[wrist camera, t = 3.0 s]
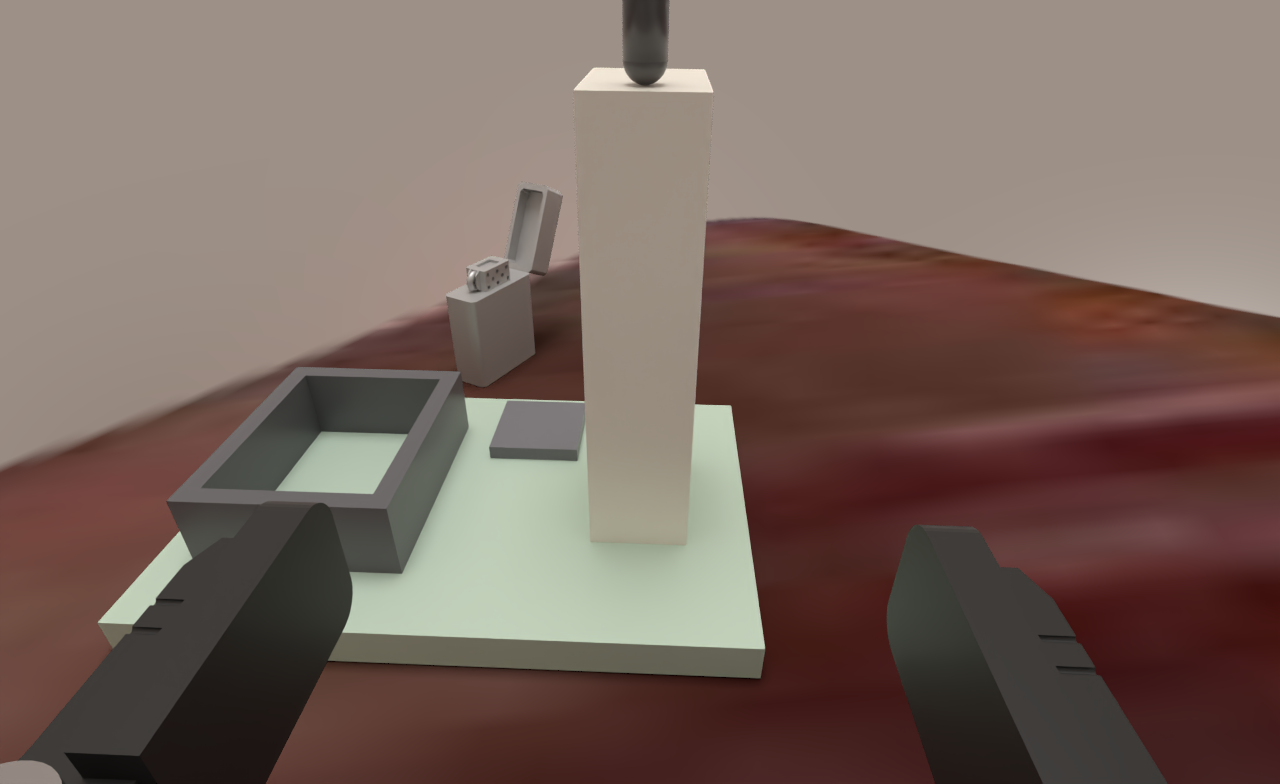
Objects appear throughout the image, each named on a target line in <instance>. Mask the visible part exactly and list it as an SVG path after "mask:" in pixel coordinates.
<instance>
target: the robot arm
mask: <svg viewBox="0 0 1280 784" xmlns="http://www.w3.org/2000/svg"><path fill="white" fill-rule="evenodd" d="M352 597H353V586H352V580H351V576H350V572H349V569H348V566H347V562H346V559H345V555H344V552H343V549H342V545H341V542H340V538H339V535H338V532H337V528H336V525H335V521H334V518H333V515H332V512H331V510H330V508H329V507H328V506H327V505H326V504H324V503H317V502H288V501H267V502H264V503H262V504H261V505H260V506H259V507H258V508H257V509H256V510H255V511H254V512H253V514H252V515H251V516H250V517H249V519H248V520H247V521H246V522H245V524H244V525H243V526H242V527H241V529H240V530H239V531H238V533H237V534H236V535H235V536H234V538H221V539H219V540H218V541H217V542H215V543H214V544H212V545H211V546H210V547H208V548H207V549H205V550H204V551H203V552H201V553H200V554H198V555H197V556H196V557H194V558H193V559H191V560H190V561H189V562H187V563H186V564H184V565H183V566H182V567H181V569H180V570H179V571H178V572H177V573H176V575H175V576H174V577H173V578H172V579H171V581H170V582H169V583H168V584H167V585H166V587H165V588H164V589H163V590H162V591H161V592H160V594H159V595H158V596H157V597H156V598H155V599H156V602H155V604H154V605H150V606H149V607H148V608H147V609H146V610H145V612H144V613H143V614H142V615H141V616H140V618H139V619H138V620H137V621H136V622H135V623H134V625H133V626H132V632H131V633H130V634H125V635H124V637H123V638H122V639H121V640H120V641H119V643H118V644H117V645H116V646H115V647H114V649H113V650H112V651H111V652H110V653H109V654H108V656H107V657H106V658H105V659H104V660H103V662H102V663H101V664H100V665H99V666H98V668H97V669H96V670H95V671H94V672H93V674H92V675H91V676H90V677H89V678H88V680H87V681H86V682H85V683H84V684H83V685H82V687H81V688H80V689H79V690H78V691H77V693H76V694H75V695H74V696H73V697H72V699H71V700H70V701H69V702H68V703H67V705H66V706H65V707H64V708H63V709H62V710H61V712H60V713H59V714H58V715H57V716H56V718H55V719H54V720H53V721H52V722H51V724H50V725H49V726H48V727H47V728H46V730H45V731H44V732H43V733H42V734H41V736H40V737H39V738H38V739H37V740H36V741H35V743H34V744H33V745H32V746H31V747H30V748H29V749H28V750H27V752H26V753H25V754H24V755H23V756H22V757H21V758H20V759H19V760H18V761H14V762H7V763H3V764H0V784H265V783H266V781H267V780H268V778H269V776H270V774H271V772H272V770H273V768H274V766H275V764H276V762H277V760H278V758H279V756H280V754H281V752H282V750H283V748H284V746H285V744H286V742H287V740H288V738H289V736H290V734H291V732H292V730H293V728H294V726H295V724H296V722H297V720H298V718H299V716H300V714H301V712H302V711H303V709H304V707H305V705H306V703H307V701H308V699H309V697H310V695H311V693H312V691H313V689H314V687H315V685H316V683H317V681H318V679H319V677H320V675H321V673H322V671H323V669H324V667H325V665H326V663H327V661H328V659H329V657H330V655H331V653H332V651H333V649H334V647H335V645H336V643H337V642H338V640H339V638H340V636H341V634H342V632H343V630H344V628H345V625H346V623H347V621H348V618H349V614H350V610H351V605H352ZM887 630H888V638H889V643H890V647H891V651H892V654H893V657H894V660H895V663H896V666H897V669H898V672H899V675H900V678H901V681H902V684H903V687H904V690H905V693H906V696H907V699H908V702H909V705H910V708H911V711H912V714H913V717H914V720H915V723H916V726H917V729H918V732H919V735H920V738H921V742H922V745H923V748H924V751H925V754H926V757H927V760H928V763H929V766H930V769H931V772H932V775H933V778H934V781H935V784H1167V782H1166V780H1165V779H1164V777H1163V776H1162V774H1161V772H1160V771H1159V769H1158V767H1157V766H1156V764H1155V763H1154V761H1153V759H1152V758H1151V756H1150V755H1149V753H1148V751H1147V750H1146V748H1145V747H1144V745H1143V743H1142V742H1141V740H1140V738H1139V737H1138V735H1137V734H1136V732H1135V730H1134V729H1133V727H1132V726H1131V724H1130V722H1129V721H1128V719H1127V718H1126V716H1125V714H1124V713H1123V711H1122V710H1121V708H1120V706H1119V705H1118V703H1117V701H1116V700H1115V698H1114V697H1113V695H1112V693H1111V692H1110V690H1109V689H1108V687H1107V685H1106V684H1105V682H1104V681H1103V679H1102V677H1101V676H1097V675H1096V673H1095V666H1094V664H1093V663H1092V661H1091V660H1090V658H1089V656H1088V655H1087V653H1086V652H1085V650H1084V648H1083V647H1082V645H1081V644H1077V642H1076V635H1075V634H1074V632H1073V631H1072V629H1071V627H1070V626H1069V624H1068V623H1067V621H1066V619H1065V618H1064V616H1063V614H1062V613H1061V611H1060V610H1059V608H1058V606H1057V605H1056V603H1055V602H1054V600H1053V599H1052V598H1051V597H1050V596H1049V595H1048V594H1046V593H1045V592H1044V591H1043V590H1042V589H1041V588H1040V587H1039V586H1037V585H1036V584H1035V583H1034V582H1033V581H1032V580H1031V579H1030V578H1028V577H1027V576H1026V575H1025V574H1024V573H1023V572H1022V571H1021V570H1020V569H1018V568H1004V567H999V565H998V563H997V561H996V559H995V558H994V556H993V554H992V552H991V551H990V549H989V547H988V545H987V543H986V542H985V540H984V538H983V537H982V535H981V533H980V532H979V531H978V530H977V529H975V528H974V527H967V526H937V525H914V526H913V527H912V528H911V529H910V531H909V533H908V536H907V539H906V542H905V546H904V549H903V553H902V556H901V560H900V563H899V567H898V570H897V574H896V577H895V581H894V584H893V588H892V591H891V595H890V598H889V602H888V608H887Z"/></svg>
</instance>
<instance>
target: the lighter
mask: <svg viewBox="0 0 1280 784" xmlns="http://www.w3.org/2000/svg"><path fill="white" fill-rule="evenodd" d="M562 197H563V196H562V194H561V192H559V191H557V190H554V189H552V188H550V187H547V186H545V185H539V184H533V183H527V182H521V183H520V184H519V185H518V189H517V195H516V199H515V204H514V209H513V215H512V220H511V225H510V230H509V235H508V240H507V245H506V251H505V256H504V259H503V258H499V257H494V256H490V257H487V258H485V259H483V260H481V261H479V262H476V263H474V264H472V265H470V266H468V267H467V268H466V269H467V284H466V285H464V286H462V287H460V288H457V289H455V290H453V291H451V292H449V293H447V294H446V298H447V305H448V312H449V318H450V325H451V332H452V339H453V345H454V352H455V359H456V366H457V372H461V376H462V381H464V382H467V383H470V384H473V385H476V386H479V387H487V386H488V385H490V384H491V383H493V382H494V381H496V380H497V379H499V378H500V377H502V376H503V375H505V374H506V373H508V372H509V371H511V370H512V369H513V368H515V367H516V366H518V365H519V364H521V363H522V362H524V361H525V360H527V359H528V358H530V357H531V356H533V355H534V354H535V343H534V330H533V317H532V305H531V292H530V279H529V273H533V274H537V275H542V276H544V275H545V274H547V271H548V266H549V261H550V256H551V251H552V247H553V242H554V236H555V232H556V227H557V222H558V217H559V212H560V207H561V203H562Z"/></svg>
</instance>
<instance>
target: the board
mask: <svg viewBox="0 0 1280 784" xmlns="http://www.w3.org/2000/svg"><path fill="white" fill-rule="evenodd" d="M267 501H288V502H317V503H324V504H326V505H327V506H328V507H329V508H330V510H331V512H332V515H333V518H334V521H335V525H336V528H337V532H338V535H339V538H340V542H341V545H342V549H343V552H344V555H345V559H346V562H347V566H348V569H349V572H350V576H351V580H352V586H353V597H352V605H351V610H350V614H349V618H348V621H347V623H346V625H345V628H344V630H343V632H342V634H341V636H340V638H339V640H338V642H337V643H336V645H335V647H334V649H333V651H332V653H331V655H330V657H329V659H328V661H349V662H374V663H398V664H423V665H447V666H472V667H496V668H521V669H545V670H570V671H594V672H619V673H643V674H667V675H692V676H716V677H741V678H761V672H762V666H763V659H764V653H765V645H764V638H763V631H762V624H761V617H760V609H759V602H758V595H757V588H756V581H755V574H754V567H753V560H752V553H751V545H750V538H749V531H748V524H747V517H746V510H745V503H744V496H743V489H742V482H741V474H740V467H739V460H738V453H737V446H736V439H735V432H734V425H733V418H732V411H731V406H722V405H695V411H694V427H693V443H692V460H691V476H690V493H689V509H688V525H687V542H686V545H664V544H636V543H608V542H590V522H589V496H588V470H587V444H586V418H585V401H552V400H518V399H484V398H465V397H464V390H463V383H462V376H461V372H454V371H419V370H383V369H348V368H312V367H297V368H296V369H295V370H294V371H293V372H292V373H291V374H290V375H289V376H288V377H287V378H286V379H285V380H284V381H283V382H282V383H281V384H280V385H279V386H278V387H277V388H276V389H275V390H274V391H273V392H272V393H271V394H270V395H269V396H268V397H267V399H266V400H265V401H264V402H263V403H262V404H261V405H260V406H259V407H258V408H257V409H256V410H255V411H254V412H253V413H252V414H251V415H250V416H249V417H248V418H247V419H246V420H245V421H244V422H243V423H242V424H241V425H240V426H239V427H238V428H237V429H236V430H235V431H234V432H233V433H232V434H231V435H230V436H229V437H228V439H227V440H226V441H225V442H224V443H223V444H222V445H221V446H220V447H219V448H218V449H217V450H216V451H215V452H214V453H213V454H212V455H211V456H210V457H209V458H208V459H207V460H206V461H205V462H204V463H203V464H202V465H201V466H200V467H199V468H198V469H197V470H196V471H195V472H194V473H193V474H192V475H191V476H190V477H189V479H188V480H187V481H186V482H185V483H184V484H183V485H182V486H181V487H180V488H179V489H178V490H177V491H176V492H175V493H174V494H173V495H172V496H171V497H170V498H169V499H168V500H167V501H166V502H167V504H168V506H169V508H170V511H171V513H172V515H173V517H174V519H175V521H176V524H177V526H178V528H179V530H180V531H179V533H178V534H177V535H176V536H175V537H174V538H173V539H172V540H171V541H170V543H169V544H168V545H167V546H166V547H165V548H164V549H163V550H162V552H161V553H160V554H159V555H158V556H157V557H156V558H155V559H154V560H153V562H152V563H151V564H150V565H149V566H148V567H147V568H146V569H145V570H144V572H143V573H142V574H141V575H140V576H139V577H138V578H137V579H136V581H135V582H134V583H133V584H132V585H131V586H130V587H129V588H128V589H127V591H126V592H125V593H124V594H123V595H122V596H121V597H120V598H119V599H118V601H117V602H116V603H115V604H114V605H113V606H112V607H111V608H110V609H109V611H108V612H107V613H106V614H105V615H104V616H103V617H102V618H101V620H100V621H99V622H98V624H99V626H100V628H101V629H102V631H103V633H104V634H105V636H106V638H107V640H108V641H109V643H110V645H111V646H112V648H113V649H114V647H115V646H116V645H117V644H118V643H119V641H120V640H121V639H122V638H123V637H124V635H125V634H130V633H131V632H132V626H133V625H134V623H135V622H136V621H137V620H138V619H139V618H140V616H141V615H142V614H143V613H144V612H145V610H146V609H147V608H148V607H149V606H150V605H154V604H155V602H156V599H155V598H156V597H157V596H158V595H159V594H160V592H161V591H162V590H163V589H164V588H165V587H166V585H167V584H168V583H169V582H170V581H171V579H172V578H173V577H174V576H175V575H176V573H177V572H178V571H179V570H180V569H181V567H182V566H183V565H184V564H186V563H187V562H189V561H190V560H191V559H193V558H194V557H196V556H197V555H198V554H200V553H201V552H203V551H204V550H205V549H207V548H208V547H210V546H211V545H212V544H214V543H215V542H217V541H218V540H219V539H221V538H234V536H235V535H236V534H237V533H238V531H239V530H240V529H241V527H242V526H243V525H244V524H245V522H246V521H247V520H248V519H249V517H250V516H251V515H252V514H253V512H254V511H255V510H256V509H257V508H258V507H259V506H260V505H261V504H262V503H264V502H267Z"/></svg>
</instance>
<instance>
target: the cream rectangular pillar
mask: <svg viewBox="0 0 1280 784" xmlns="http://www.w3.org/2000/svg"><path fill="white" fill-rule="evenodd" d="M668 30H669V0H623V66H624V68H593V69H592V70H591V71H590V72H589V73H588V74H587V76H586V77H585V78H584V79H583V80H582V81H581V82H580V83H579V84H578V85H577V86H576V88H575V89H574V90H573V101H574V102H573V104H574V130H575V156H576V181H577V209H578V235H579V261H580V287H581V313H582V339H583V365H584V392H585V418H586V444H587V470H588V496H589V522H590V542H608V543H636V544H664V545H686V542H687V525H688V509H689V493H690V476H691V460H692V443H693V427H694V411H695V394H696V378H697V362H698V345H699V329H700V312H701V296H702V280H703V263H704V247H705V231H706V214H707V198H708V181H709V165H710V147H711V131H712V115H713V99H714V92H713V89H712V86H711V84H710V81H709V79H708V76H707V73H706V71H705V69H704V70H703V69H666V68H667V62H668V33H669V31H668Z"/></svg>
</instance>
